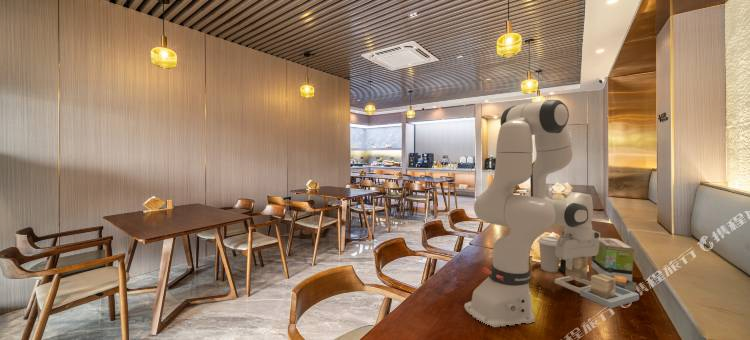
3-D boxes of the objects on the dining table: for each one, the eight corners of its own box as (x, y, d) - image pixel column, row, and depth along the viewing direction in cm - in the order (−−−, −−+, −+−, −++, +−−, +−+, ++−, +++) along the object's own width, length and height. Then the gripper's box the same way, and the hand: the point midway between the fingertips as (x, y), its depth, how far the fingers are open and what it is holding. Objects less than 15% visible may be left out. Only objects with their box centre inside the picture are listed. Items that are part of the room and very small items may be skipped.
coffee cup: (566, 275, 127) (567, 241, 127) (544, 275, 128) (545, 241, 127) (553, 267, 137) (554, 235, 136) (533, 267, 137) (534, 235, 137)
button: (622, 289, 110) (622, 279, 110) (611, 286, 114) (612, 275, 113) (628, 288, 112) (628, 278, 111) (617, 284, 115) (617, 274, 115)
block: (578, 279, 111) (579, 258, 111) (565, 274, 116) (566, 254, 116) (586, 278, 113) (587, 257, 113) (573, 273, 118) (574, 253, 117)
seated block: (605, 303, 101) (606, 281, 100) (590, 297, 105) (591, 275, 105) (614, 301, 103) (615, 278, 102) (599, 295, 107) (600, 273, 107)
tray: (579, 296, 109) (580, 289, 108) (554, 285, 118) (554, 278, 118) (598, 291, 113) (599, 284, 113) (572, 280, 122) (573, 274, 122)
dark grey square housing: (624, 296, 108) (625, 286, 108) (604, 288, 115) (604, 278, 114) (636, 293, 111) (636, 283, 111) (615, 285, 117) (615, 276, 117)
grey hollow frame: (610, 311, 98) (610, 302, 98) (580, 297, 107) (580, 289, 107) (638, 302, 104) (639, 294, 104) (607, 290, 113) (607, 282, 113)
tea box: (633, 283, 120) (634, 247, 119) (603, 279, 123) (605, 245, 122) (616, 269, 134) (617, 238, 133) (590, 267, 137) (591, 236, 137)
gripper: (567, 236, 107) (565, 274, 108) (603, 233, 115) (601, 268, 115) (551, 232, 113) (549, 268, 113) (586, 229, 121) (585, 263, 121)
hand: (576, 268), depth 114 cm, fingers closed on block, 5 cm apart
